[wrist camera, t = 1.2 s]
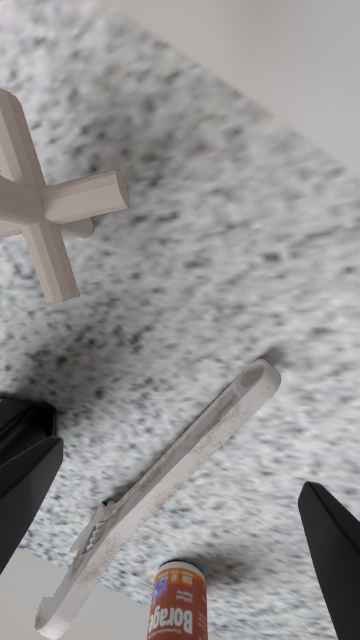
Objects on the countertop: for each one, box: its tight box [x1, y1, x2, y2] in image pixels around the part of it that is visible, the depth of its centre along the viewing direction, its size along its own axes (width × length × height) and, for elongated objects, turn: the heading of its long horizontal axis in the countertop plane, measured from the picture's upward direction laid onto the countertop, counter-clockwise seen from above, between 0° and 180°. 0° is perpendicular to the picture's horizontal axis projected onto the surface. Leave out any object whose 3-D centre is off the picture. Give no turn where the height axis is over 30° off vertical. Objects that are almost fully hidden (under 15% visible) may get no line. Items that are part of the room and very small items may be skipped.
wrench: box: [34, 359, 281, 640], centre depth 20 cm, size 8×2×30 cm
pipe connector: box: [0, 89, 130, 303], centre depth 12 cm, size 10×10×10 cm
